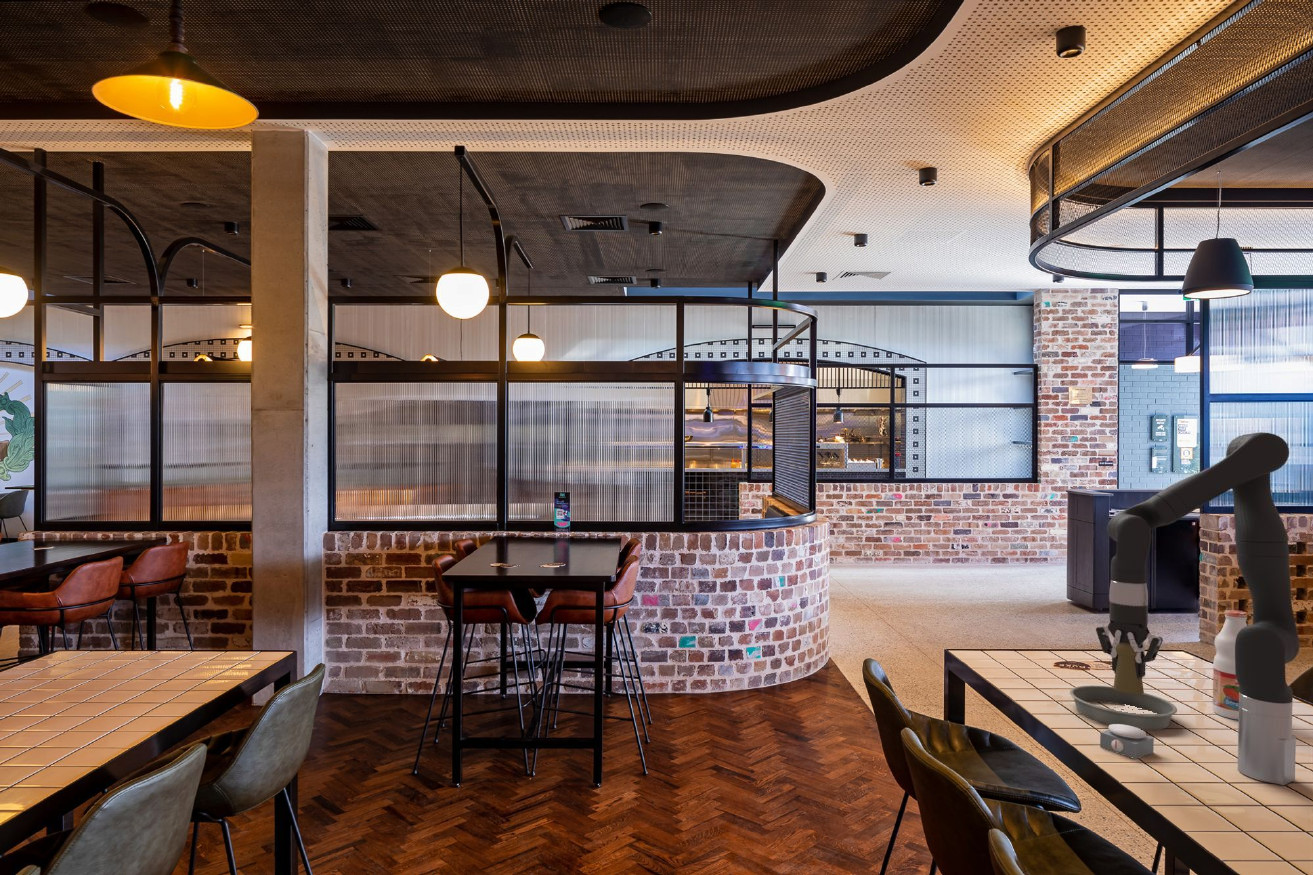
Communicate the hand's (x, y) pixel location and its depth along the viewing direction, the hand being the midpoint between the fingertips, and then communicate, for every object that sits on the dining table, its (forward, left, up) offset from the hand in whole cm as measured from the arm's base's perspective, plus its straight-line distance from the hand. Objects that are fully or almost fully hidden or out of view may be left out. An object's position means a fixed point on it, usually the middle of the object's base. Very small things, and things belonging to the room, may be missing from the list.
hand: (1128, 675), depth 176 cm
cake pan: (+16, -30, -19) cm, 39 cm away
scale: (+3, -5, -19) cm, 20 cm away
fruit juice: (+1, -58, -19) cm, 61 cm away
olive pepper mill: (0, 0, -3) cm, 3 cm away
